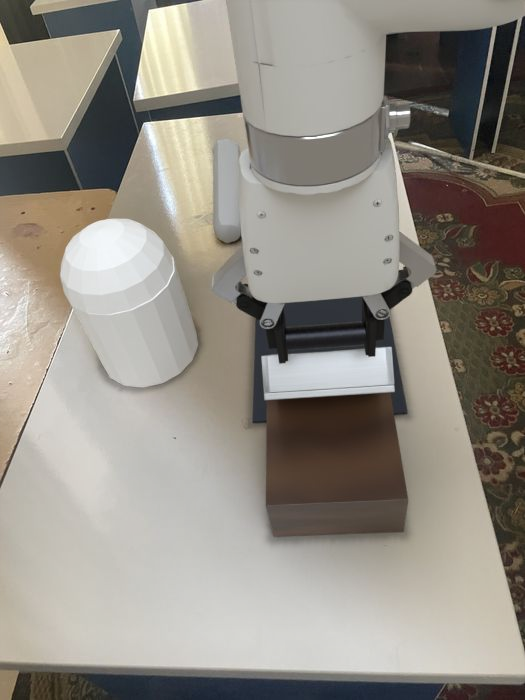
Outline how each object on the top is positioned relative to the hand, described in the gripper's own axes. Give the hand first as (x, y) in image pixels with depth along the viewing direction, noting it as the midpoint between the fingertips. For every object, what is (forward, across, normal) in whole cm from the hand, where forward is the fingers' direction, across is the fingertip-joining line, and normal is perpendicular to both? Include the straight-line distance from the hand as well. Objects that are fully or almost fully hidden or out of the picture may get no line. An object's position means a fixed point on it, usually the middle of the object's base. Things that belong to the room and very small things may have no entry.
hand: (325, 345), depth 45 cm
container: (+22, +23, -21) cm, 38 cm away
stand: (+22, 0, -1) cm, 22 cm away
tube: (+22, +13, -54) cm, 60 cm away
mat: (+22, 0, -26) cm, 34 cm away
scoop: (+8, 0, -1) cm, 8 cm away
